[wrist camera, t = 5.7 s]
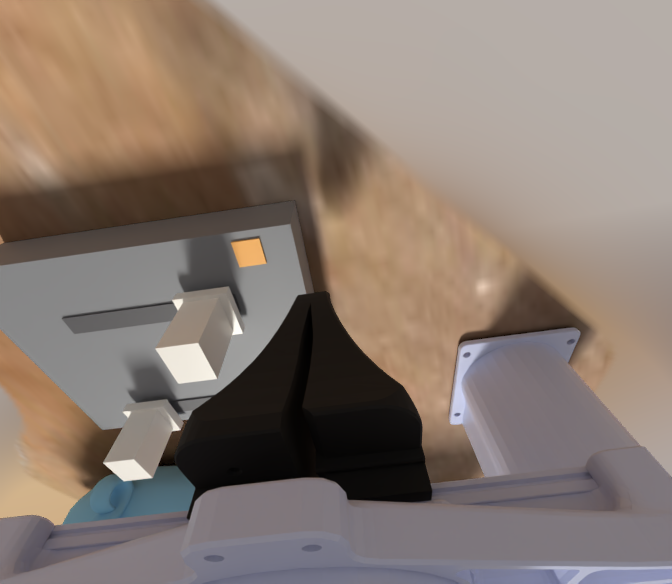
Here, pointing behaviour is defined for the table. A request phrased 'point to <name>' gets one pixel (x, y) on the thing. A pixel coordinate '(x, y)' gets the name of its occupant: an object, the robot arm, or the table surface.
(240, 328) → the handle
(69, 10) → the table surface
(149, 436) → the on handle
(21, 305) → the slider control panel
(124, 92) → the table surface
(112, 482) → the decorative pot
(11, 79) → the table surface
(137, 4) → the table surface
